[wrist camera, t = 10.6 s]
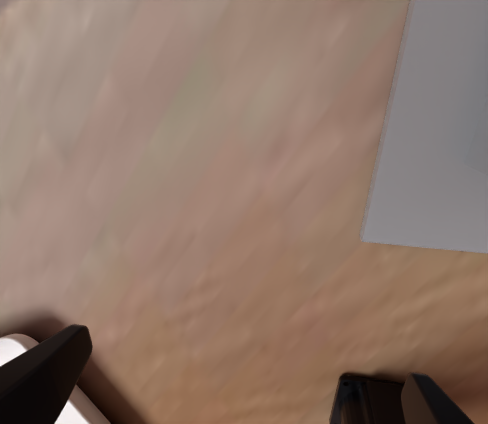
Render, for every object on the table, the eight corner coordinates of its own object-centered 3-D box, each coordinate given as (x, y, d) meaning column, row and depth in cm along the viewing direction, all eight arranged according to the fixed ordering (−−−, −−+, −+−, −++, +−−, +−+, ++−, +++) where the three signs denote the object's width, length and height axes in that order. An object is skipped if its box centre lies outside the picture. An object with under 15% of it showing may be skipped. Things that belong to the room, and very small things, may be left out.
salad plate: (40, 308, 27) (7, 338, 24) (157, 447, 34) (144, 484, 31) (-90, 352, 34) (-129, 380, 30) (31, 462, 40) (9, 494, 37)
